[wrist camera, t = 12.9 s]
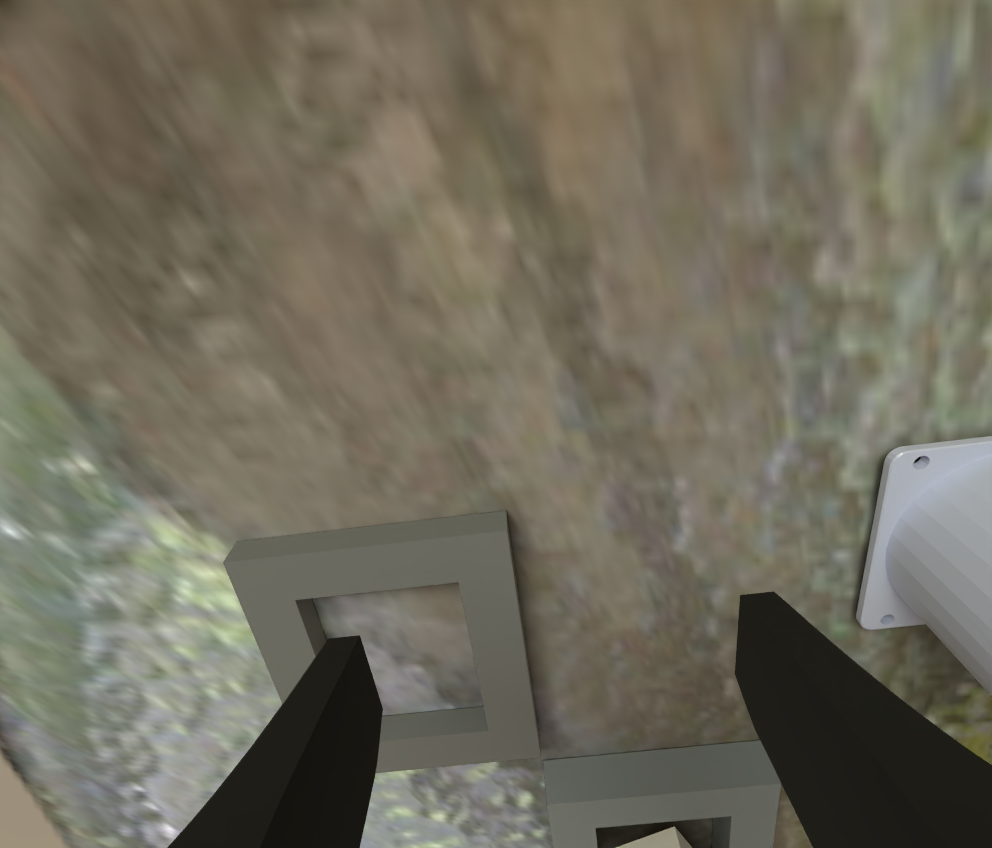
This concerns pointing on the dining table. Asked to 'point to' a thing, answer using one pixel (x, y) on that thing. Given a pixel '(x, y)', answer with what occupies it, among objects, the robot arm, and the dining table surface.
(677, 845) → the plug
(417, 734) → the square frame plate
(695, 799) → the port
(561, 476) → the dining table surface
